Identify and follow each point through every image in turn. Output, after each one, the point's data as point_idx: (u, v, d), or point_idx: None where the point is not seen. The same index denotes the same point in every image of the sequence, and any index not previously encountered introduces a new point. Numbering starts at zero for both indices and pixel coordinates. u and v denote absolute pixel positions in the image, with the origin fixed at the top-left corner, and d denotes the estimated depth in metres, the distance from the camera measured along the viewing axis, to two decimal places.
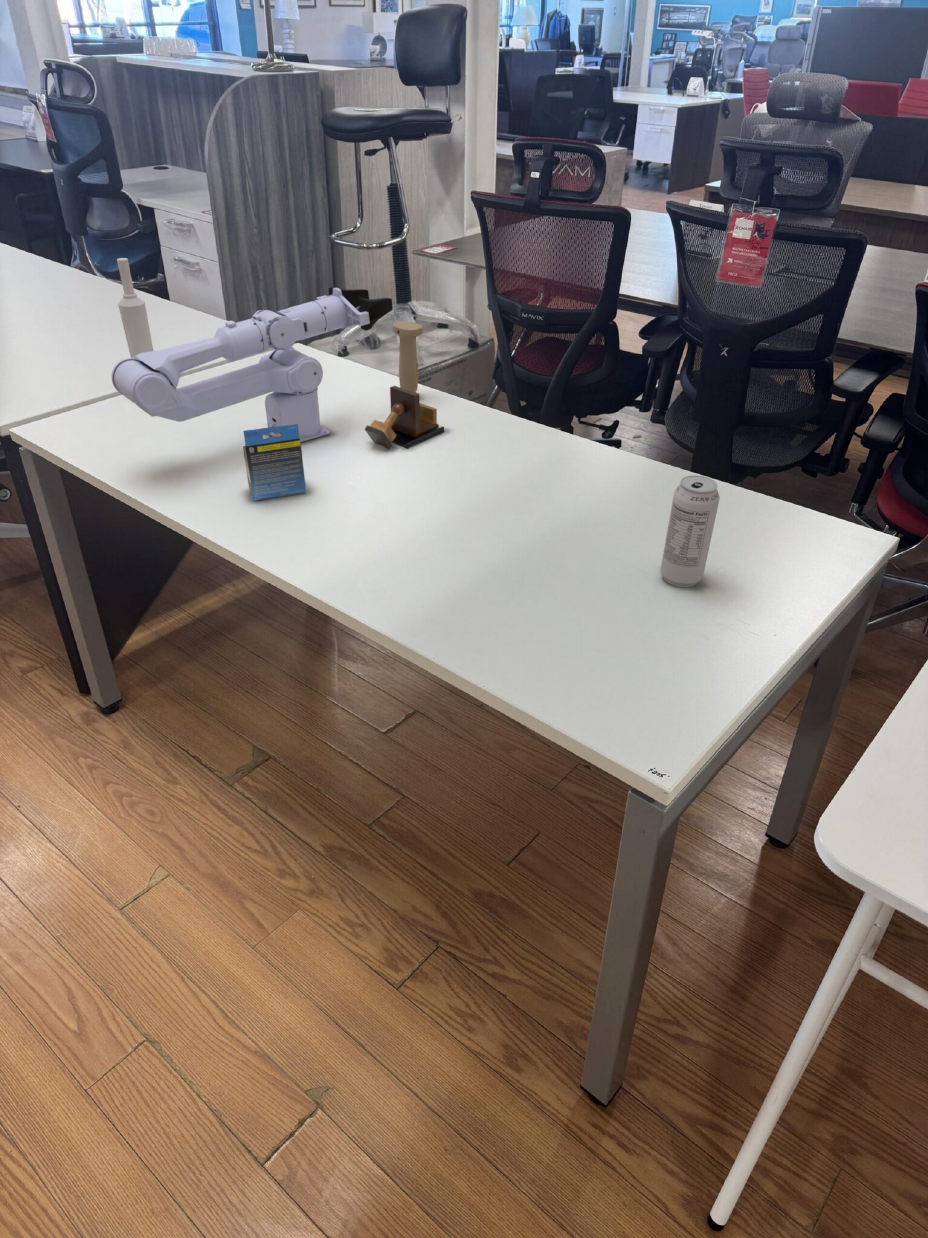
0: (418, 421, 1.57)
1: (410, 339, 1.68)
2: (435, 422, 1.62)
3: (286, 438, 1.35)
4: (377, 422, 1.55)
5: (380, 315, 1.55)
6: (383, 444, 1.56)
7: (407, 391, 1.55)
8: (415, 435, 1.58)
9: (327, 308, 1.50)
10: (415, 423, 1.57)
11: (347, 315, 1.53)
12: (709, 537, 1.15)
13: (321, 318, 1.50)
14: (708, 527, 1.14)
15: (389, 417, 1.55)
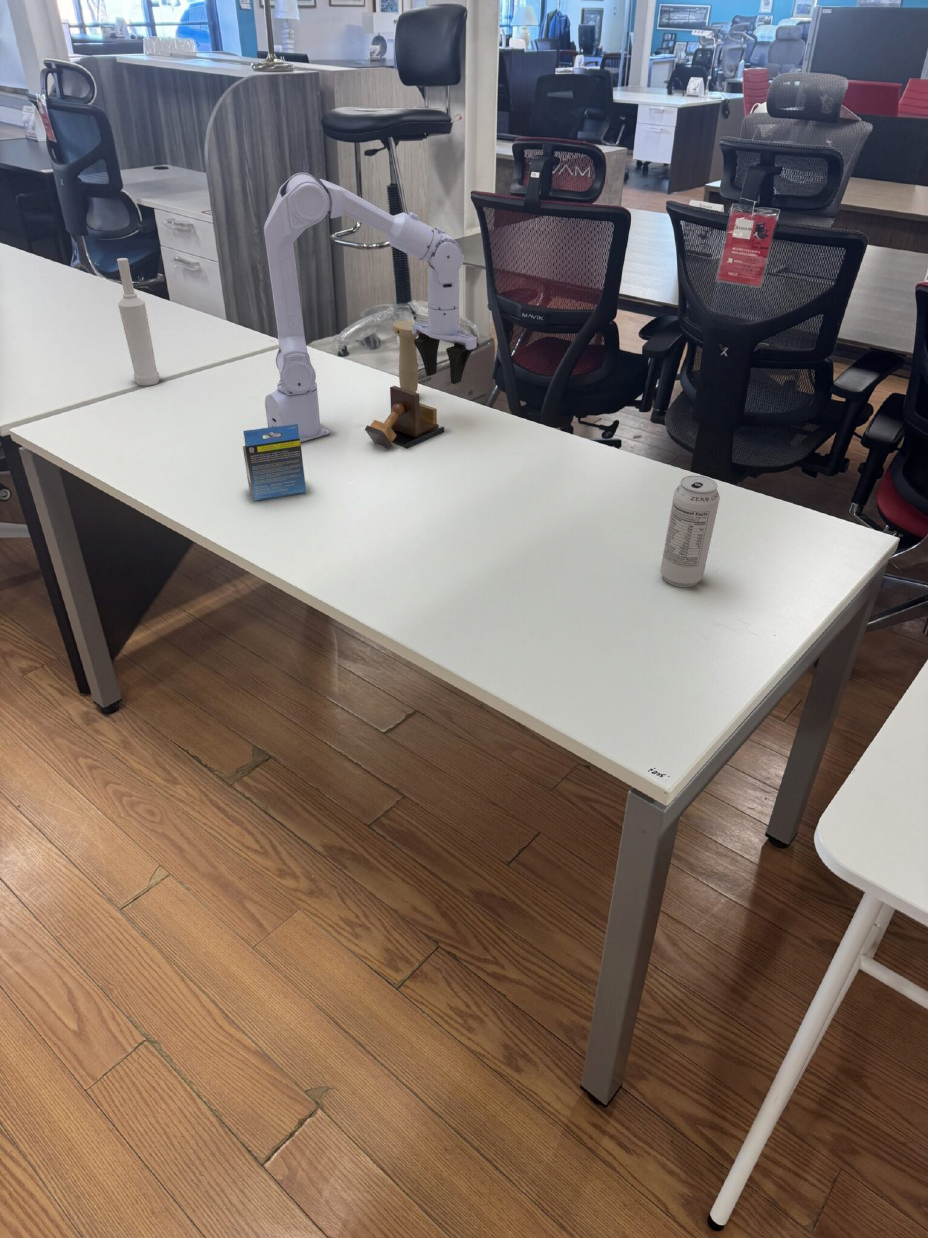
0: (418, 421, 1.57)
1: (410, 339, 1.68)
2: (435, 422, 1.62)
3: (286, 438, 1.35)
4: (377, 422, 1.55)
5: None
6: (383, 444, 1.56)
7: (407, 391, 1.55)
8: (415, 435, 1.58)
9: (458, 311, 1.55)
10: (415, 423, 1.57)
11: (455, 333, 1.56)
12: (709, 537, 1.15)
13: (450, 304, 1.52)
14: (708, 527, 1.14)
15: (389, 417, 1.55)
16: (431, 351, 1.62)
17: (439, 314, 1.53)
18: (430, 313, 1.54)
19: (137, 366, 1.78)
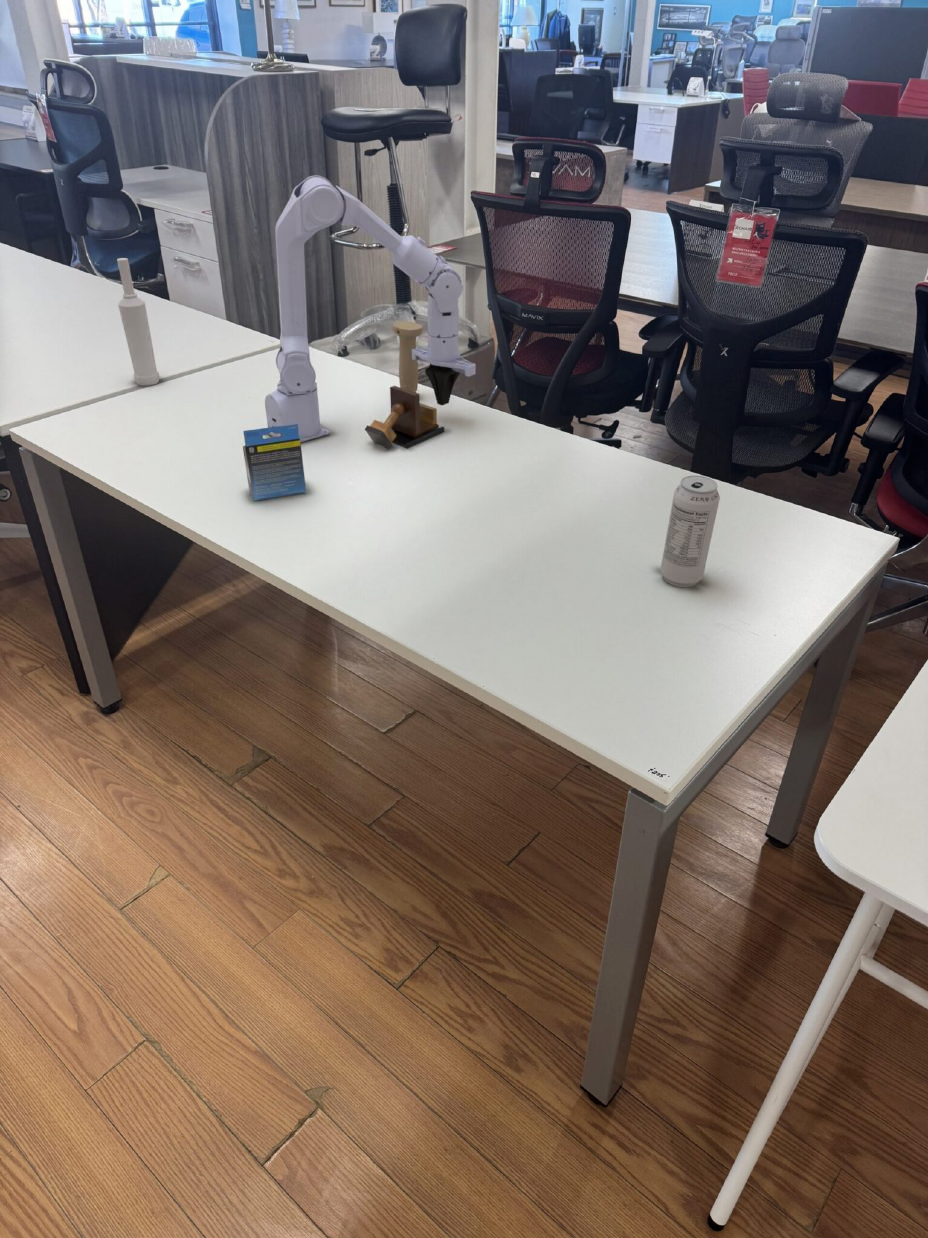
0: (418, 421, 1.57)
1: (410, 339, 1.68)
2: (435, 422, 1.62)
3: (286, 438, 1.35)
4: (377, 422, 1.55)
5: None
6: (383, 444, 1.56)
7: (407, 391, 1.55)
8: (415, 435, 1.58)
9: None
10: (415, 423, 1.57)
11: (455, 360, 1.59)
12: (709, 537, 1.15)
13: (450, 332, 1.55)
14: (708, 527, 1.14)
15: (389, 417, 1.55)
16: None
17: (439, 342, 1.56)
18: (430, 340, 1.57)
19: (137, 366, 1.78)
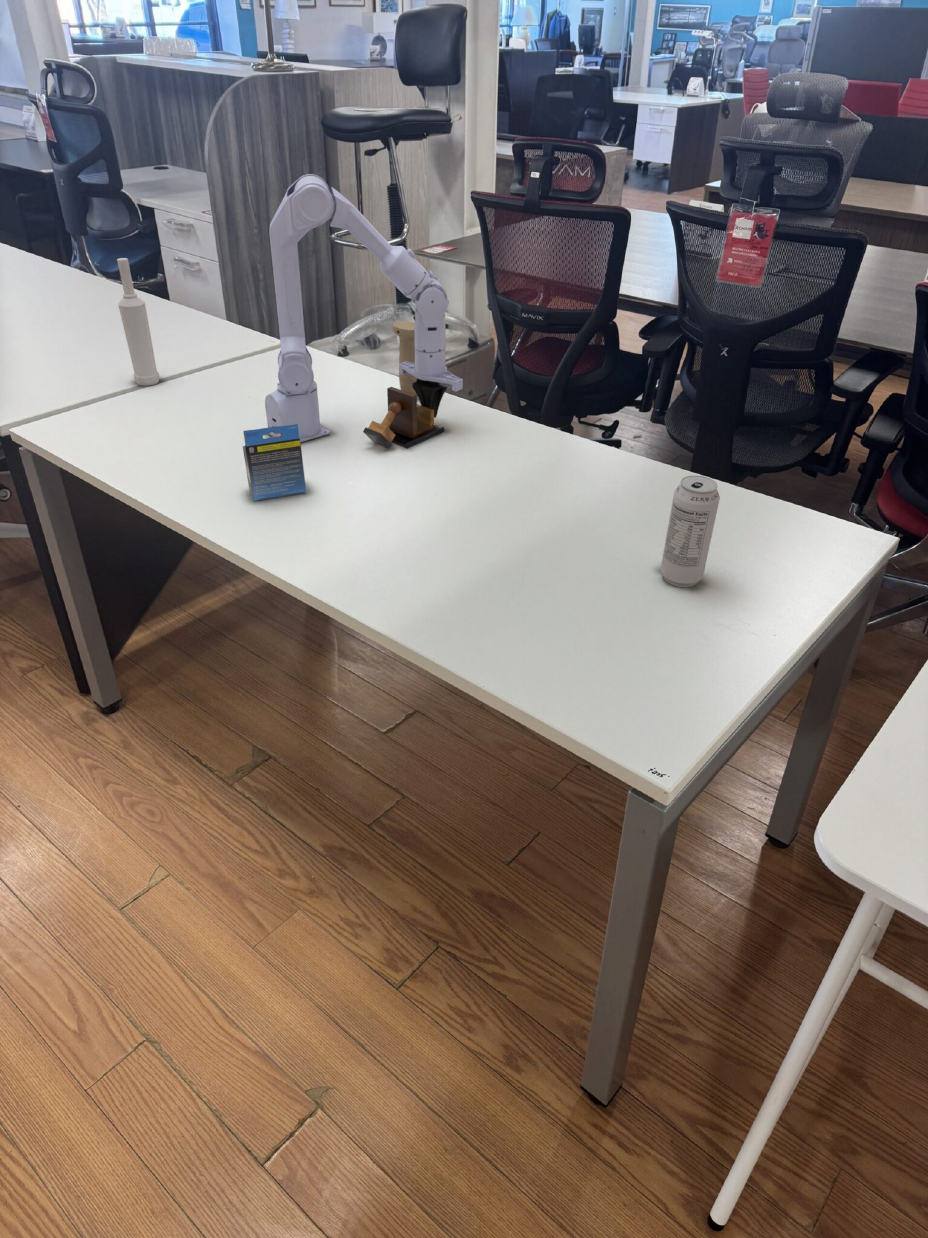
0: (415, 422, 1.57)
1: (410, 339, 1.68)
2: (432, 423, 1.62)
3: (286, 438, 1.35)
4: (375, 423, 1.54)
5: None
6: (383, 445, 1.55)
7: (404, 392, 1.55)
8: (412, 436, 1.58)
9: None
10: (412, 424, 1.56)
11: (442, 374, 1.57)
12: (709, 537, 1.15)
13: (435, 347, 1.54)
14: (708, 527, 1.14)
15: (386, 417, 1.55)
16: None
17: (425, 356, 1.55)
18: (417, 355, 1.56)
19: (137, 366, 1.78)
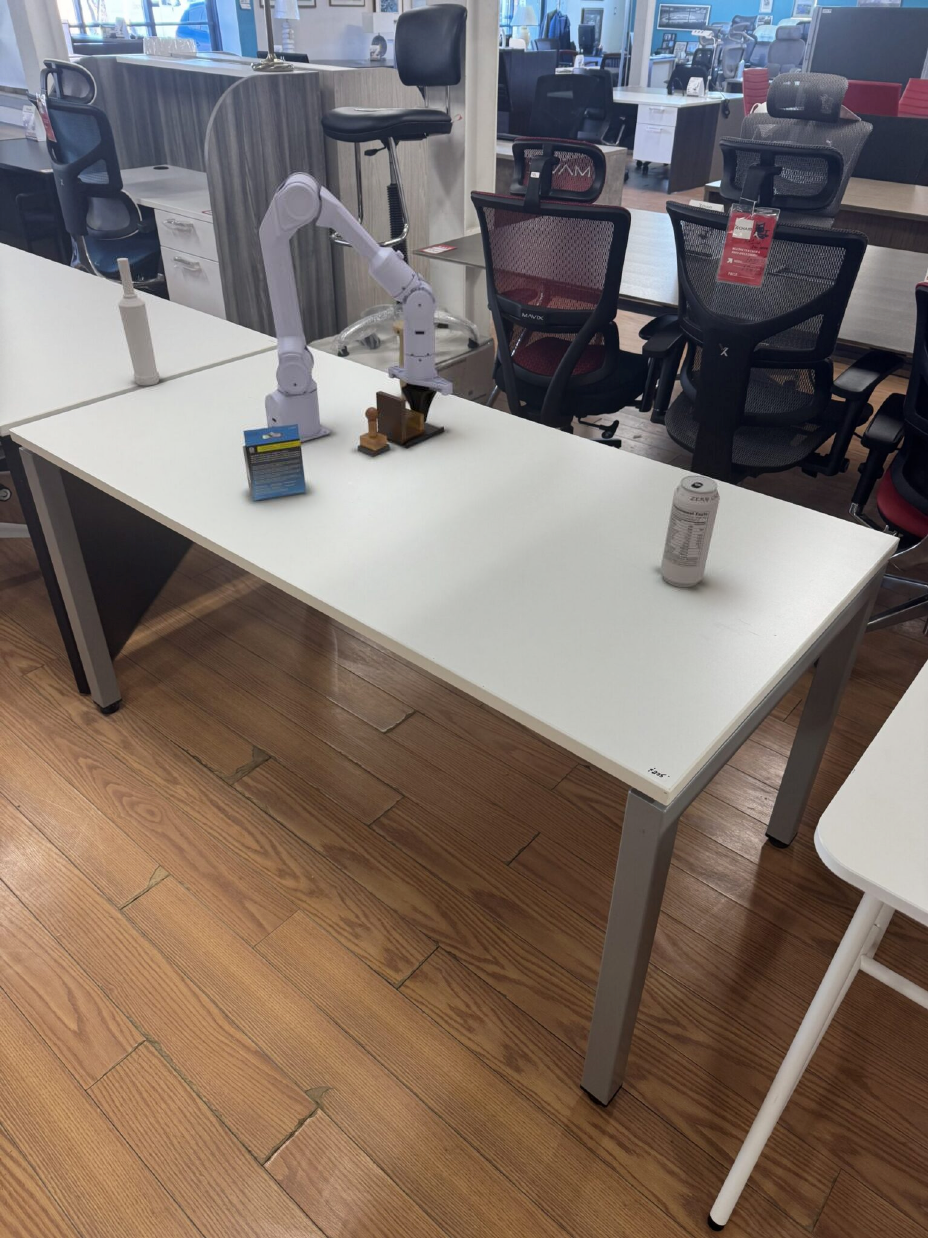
0: (404, 427, 1.55)
1: None
2: (422, 428, 1.60)
3: (286, 438, 1.35)
4: (363, 439, 1.54)
5: None
6: None
7: (393, 396, 1.53)
8: (401, 441, 1.56)
9: (434, 357, 1.55)
10: (401, 429, 1.55)
11: (431, 378, 1.56)
12: (709, 537, 1.15)
13: (423, 351, 1.52)
14: (708, 527, 1.14)
15: (369, 427, 1.52)
16: None
17: (414, 360, 1.53)
18: (406, 359, 1.54)
19: (137, 366, 1.78)
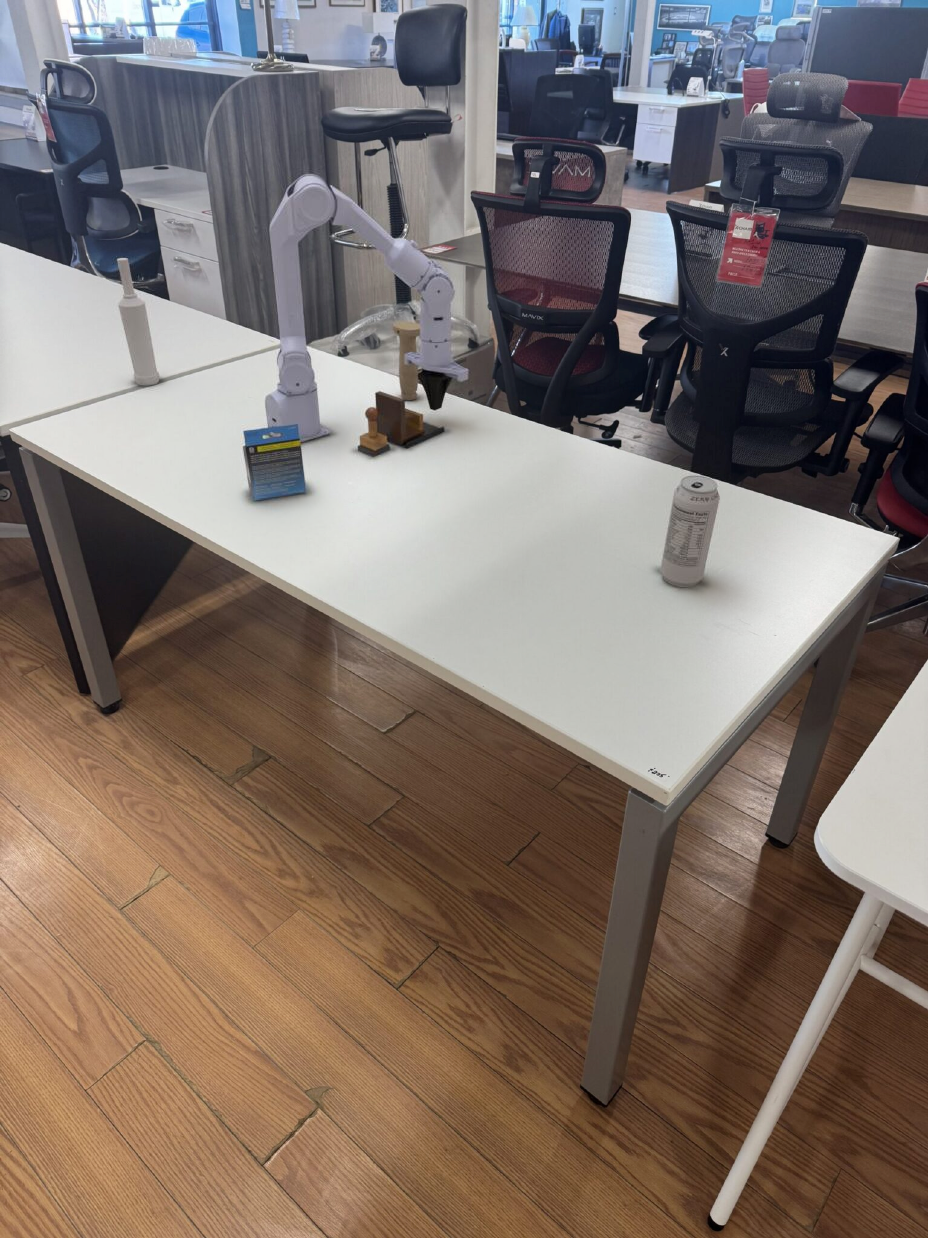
0: (404, 427, 1.55)
1: (410, 339, 1.68)
2: (421, 428, 1.60)
3: (286, 438, 1.35)
4: (363, 439, 1.54)
5: None
6: None
7: (392, 397, 1.53)
8: (401, 441, 1.56)
9: (450, 343, 1.57)
10: (401, 429, 1.54)
11: (447, 365, 1.57)
12: (709, 537, 1.15)
13: (441, 337, 1.54)
14: (708, 527, 1.14)
15: (369, 427, 1.52)
16: None
17: (431, 346, 1.55)
18: (422, 345, 1.56)
19: (137, 366, 1.78)
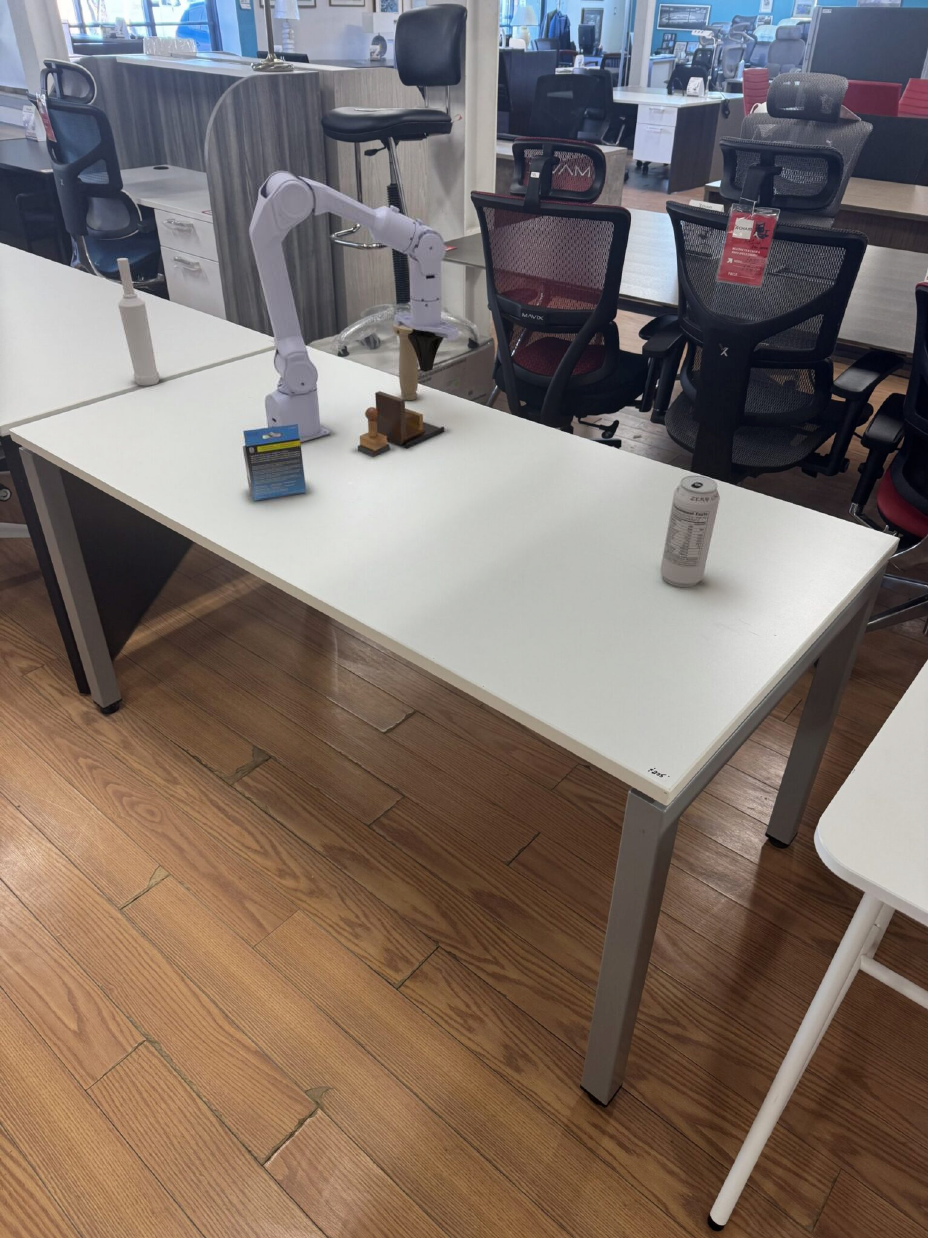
0: (404, 427, 1.55)
1: None
2: (421, 428, 1.60)
3: (286, 438, 1.35)
4: (363, 439, 1.54)
5: None
6: None
7: (392, 397, 1.53)
8: (401, 441, 1.56)
9: (440, 303, 1.56)
10: (401, 429, 1.54)
11: (438, 324, 1.57)
12: (709, 537, 1.15)
13: (433, 296, 1.53)
14: (708, 527, 1.14)
15: (369, 427, 1.52)
16: None
17: (421, 305, 1.54)
18: (412, 304, 1.55)
19: (137, 366, 1.78)
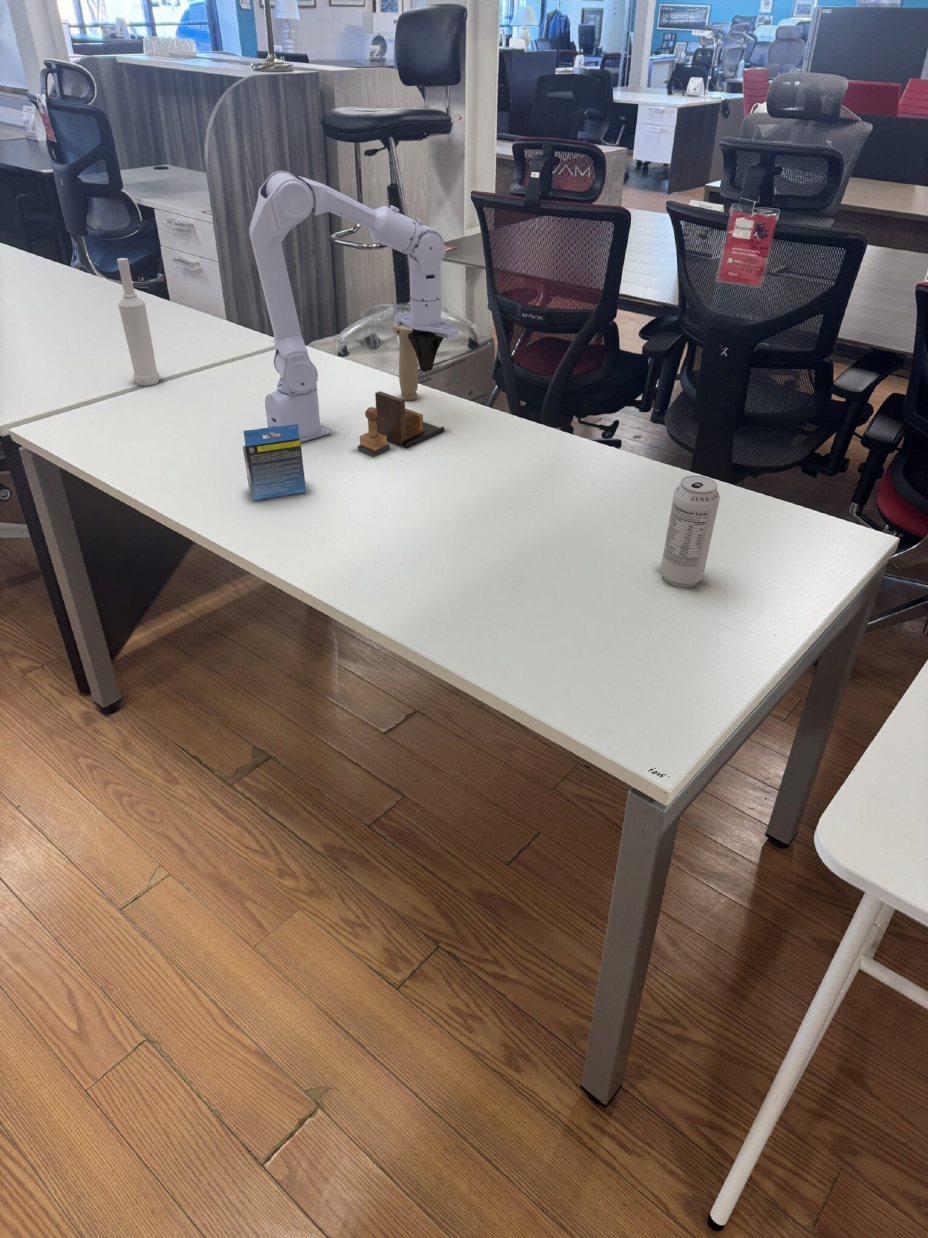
0: (404, 427, 1.55)
1: None
2: (421, 428, 1.60)
3: (286, 438, 1.35)
4: (363, 439, 1.54)
5: None
6: None
7: (392, 397, 1.53)
8: (401, 441, 1.56)
9: (440, 303, 1.56)
10: (401, 429, 1.54)
11: (438, 324, 1.57)
12: (709, 537, 1.15)
13: (433, 296, 1.53)
14: (708, 527, 1.14)
15: (369, 427, 1.52)
16: None
17: (421, 305, 1.54)
18: (412, 304, 1.55)
19: (137, 366, 1.78)
